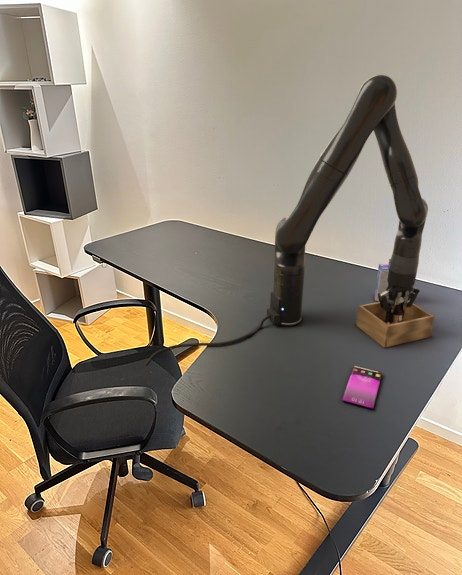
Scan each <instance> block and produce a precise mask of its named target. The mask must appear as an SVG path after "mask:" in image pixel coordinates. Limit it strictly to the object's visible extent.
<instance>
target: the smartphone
mask: <svg viewBox="0 0 462 575" xmlns="http://www.w3.org/2000/svg"><path fill="white" fill-rule="evenodd" d="M382 376H383V372H382V371H380V370H376V369H371V368H368V367H364V366H359V365H353V367H352V370H351V373H350V376H349V379H348V382H347V384H346V388H345V390H344V392H343V396H342V398H341V400H342V402H344V403H347V404H350V405H354V406H358V407H361V408H366V409H369V410H373V409H374V407H375V402H376V399H377V395H378V391H379V387H380V383H381V379H382Z"/></svg>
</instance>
